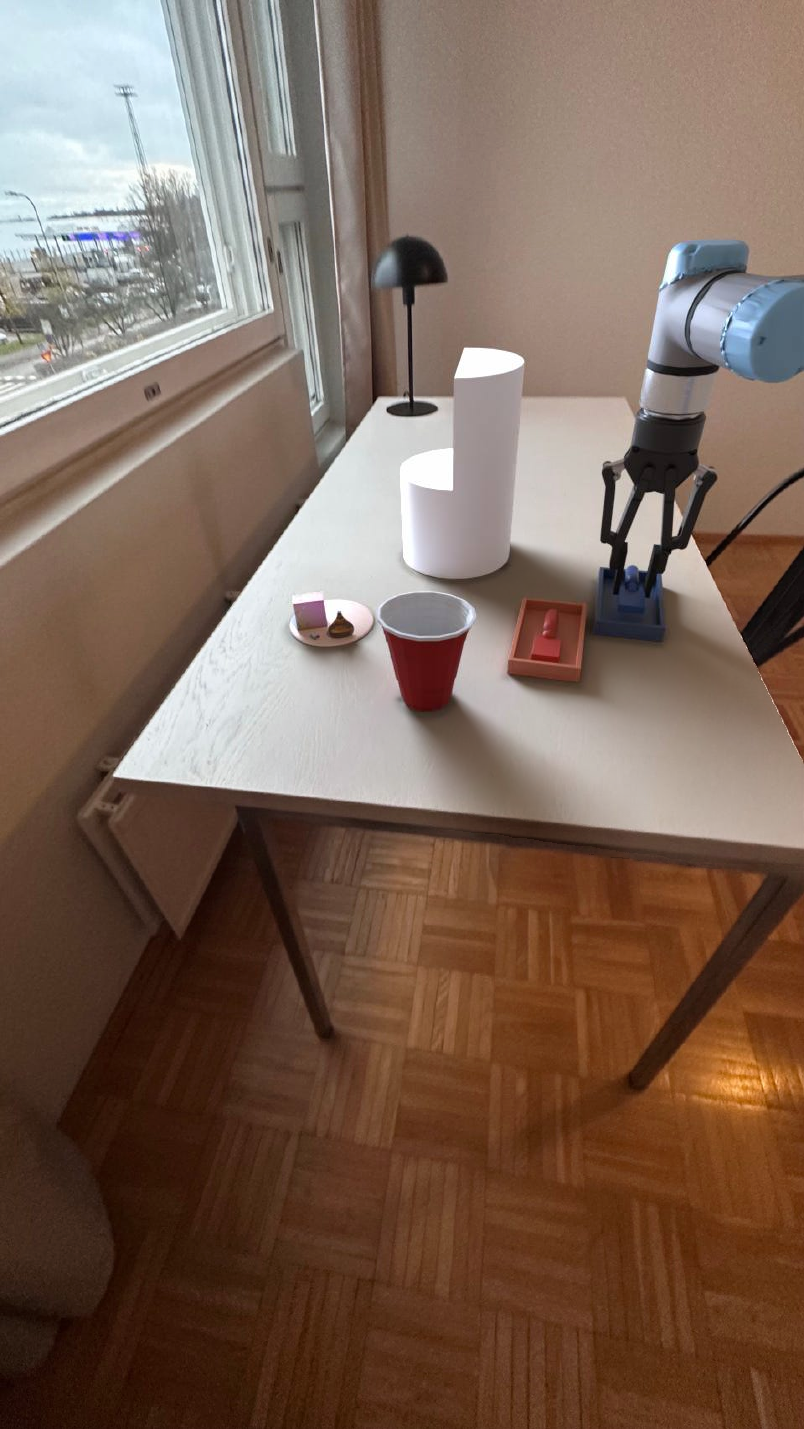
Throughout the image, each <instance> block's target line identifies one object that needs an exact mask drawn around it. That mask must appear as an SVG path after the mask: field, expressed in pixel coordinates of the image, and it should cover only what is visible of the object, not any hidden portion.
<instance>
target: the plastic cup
mask: <svg viewBox="0 0 804 1429" xmlns="http://www.w3.org/2000/svg"><path fill="white" fill-rule="evenodd" d="M476 619H477V614H476V610H475V607H473V606H472V605H471V604H470V603H469V602H468V601H467V600H466V599H463V598H461V597H458V596H456V595H453V594H452V593H446V592H441V591H434V590H414V591H408V592H403V593H398V594H395V595H393V596H391V597H389V598H387V599H385V600H384V601H383V602H382V603H381V604H380V605H379V606H378V607H377V608H376V620H377V622H378V624H379V625H380V626H381V628H382V632H383V634H384V637H385V642H386V643H387V647H388V651H389V656H390V660H391V663H392V668H393V671H394V675H395V679H396V681H397V683H398V688H399V691H400V696H401V698H402V700H403V702H404V703H405V705H406V706H407V707H408V708H410V709H412V710H414V711H418V712H423V713H425V712H427V713H428V712H434V711H438V710H441V709H442V708H444V707H445V706H446V705H448V703H449V701H450V700H451V697H452V695H453V690H454V686H455V682H456V678H457V676H458V673H459V667H460V663H461V658H462V655H463V650H464V645H465V642H466V641H467V637H468V634H469V632H470V630H471V628H472V626H473V625H474V623H475V622H476Z"/></svg>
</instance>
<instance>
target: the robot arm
mask: <svg viewBox="0 0 804 1429" xmlns="http://www.w3.org/2000/svg"><path fill="white" fill-rule="evenodd" d="M749 254H750V248H749V245H748V244H747V242H746V241H744V240H740V239H728V238H727V239H725V238H711V239H710V238H708V239H707V238H705V239H691V240H685V241H681V242H679V243H677V244H676V245H674V247H672V248H671V250H670V252H669V254H668V256H667V262H666V265H665V270H664V274H663V279H662V283H661V284H660V285H659V289H658V299H657V304H656V309H655V314H654V315H655V316H654V321H653V326H652V333H651V337H650V342H649V348H648V355H647V362H646V366H645V370H644V375H643V380H642V384H641V385H642V386H641V390H640V391H641V392H640V394H639V400H638V404H639V406H640V407H641V408H639V409H638V411H637V412H636V416H635V421H634V426H633V431H632V436H631V442H630V445H629V448H628V450H626V453H625V454H624V455H623V458H621V459H618V460H615V461H610V460H606V461H604V462H603V463H602V466H601V476H602V480H603V484H604V494H603V495H604V496H603V505H602V506H603V507H602V516H601V525H600V526H601V528H600V535H599V536H600V538H599V540H600V543H601V544H607V545H610V547H611V550H610V551H611V552H610V556H609V560H608V568H610V570H616V573H615V578H614V583H613V595H618V593H619V590H620V585H621V580H622V576H623V571H624V569H625V566H626V562H627V556H628V553H629V552H628V551H629V543H628V541H626V539H627V537H628V535H629V533H630V530H631V528H632V525H633V523H634V520H635V518H636V515H637V513H638V511H639V508H640V505H641V503H642V502H643V500H644V497H645V495H646V494H650V493H658V494H661V495H662V505H661V506H662V507H661V510H662V511H661V524H660V525H661V527H660V529H661V530H660V543H659V544H657V543H655V544H654V543H653V546H652V550H651V555H650V559H649V563H648V566H647V570H646V571H647V575H646V579H645V583H644V587H643V591H645V598H650V594H651V590H652V586H653V582H654V578H655V574H662V575H663V574H664V573H665V572H666V569H667V565H668V560H669V557H670V555H671V554H672V552H673V551H675V550H680V551H682V550H683V551H684V550H686V549H687V548H688V546H689V543H690V540H691V538H692V534H693V531H694V530H695V526H696V523H697V521H698V518H699V515H700V512H701V510H702V506H703V504H704V502H705V499H706V496H707V493H709V491H710V490H711V489H712V487H713V486H714V485H715V484H716V482H717V480H718V474H717V470H716V468H715V467H714V466H711V465H710V466H706V465H705V464H703V463H701V462H700V459H699V455H698V453H699V452H698V451H699V447H700V443H701V439H702V436H703V432H704V428H705V424H706V420H707V415H706V413H705V412H706V410H708V409H709V408H710V405H711V402H712V397H713V393H714V390H715V386H716V382H717V377H718V374H719V370H720V368H723V369H725V370H727V371H730V372H732V373H734V374H735V375H736V376H738V377H742V379H745V380H749V381H759V382H762V383H768V384H779V383H784V382H788V381H789V380H791V379H793V378H794V377H796V376H798V374H801V373H802V372H804V274H794V275H793V274H791V275H781V276H779V275H777V276H775V275H774V276H771V275H762V274H756V273H748V272H747V271H748V269H749V268H748V261H749ZM624 470H625V471H626V473H627V475H628V476H629V478H630V480H631V482H632V484H633V485H632V488H631V491H630V494H629V497H628V500H627V502H626V504H625V507H624V510H623V511H622V515H621V518H620V520H619V522H618V525H617V527H616V530H615V531H613V530H612V523H613V515H614V514H613V513H614V506H615V497H616V484H617V481H619V480H620V479H621V478H622V472H623V471H624ZM693 474H694V476H693V483H694V484H693V487H692V491H691V492H690V496H689V500H688V502H687V505H686V508H685V510H684V514H683V516H682V519H681V522H680V525H679V528H678V530H677V534H676V535H673V530H674V517H675V516H674V514H675V502H676V490H677V488H679V487H680V486H681V485H682V484H683V483H684V482H685V481H686V480H687V479H689V477H690V476H691V475H693Z"/></svg>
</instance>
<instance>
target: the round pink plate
mask: <svg viewBox="0 0 804 1429" xmlns="http://www.w3.org/2000/svg"><path fill="white" fill-rule="evenodd" d="M291 600H292V608H293V612H294V614H293V616H292V617H291V619H290V621H289V624H288V629H289V633H290V634H291V636H292V637H293V638H294V639H295V640H297V641H299V642H300V643H303V644H305V645H308V646H314V647H320V648H321V647H322V648H326V647H327V648H329V647H338V646H339V647H340V646H344V645H348V644H351V643H353V642H355V641H358V640H360V639H362V638H363V637H365V636H366V635H367V634H368V633H369V632H370V631H372V628H373V626H374V625H375V624H374V623H375V617H374V614H373V612H372V611H371V610H370V609H369V607H367V606H365V605H364V604H362V603H359V602H357V601H354V600H349V599H324V594H323V591H322V590H320V591H312V592H304V593H297V594H291Z"/></svg>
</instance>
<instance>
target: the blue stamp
mask: <svg viewBox="0 0 804 1429" xmlns="http://www.w3.org/2000/svg"><path fill="white" fill-rule="evenodd" d="M625 569H626V571H625V589H620V590H619V593H618V604H617V611H619V612H628V613H637V614H644V612H645V608H646V606H645V591H639V570H640V569H639V567H637V565H634V564H631V565H628V566H627V567H626V568H625Z"/></svg>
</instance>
